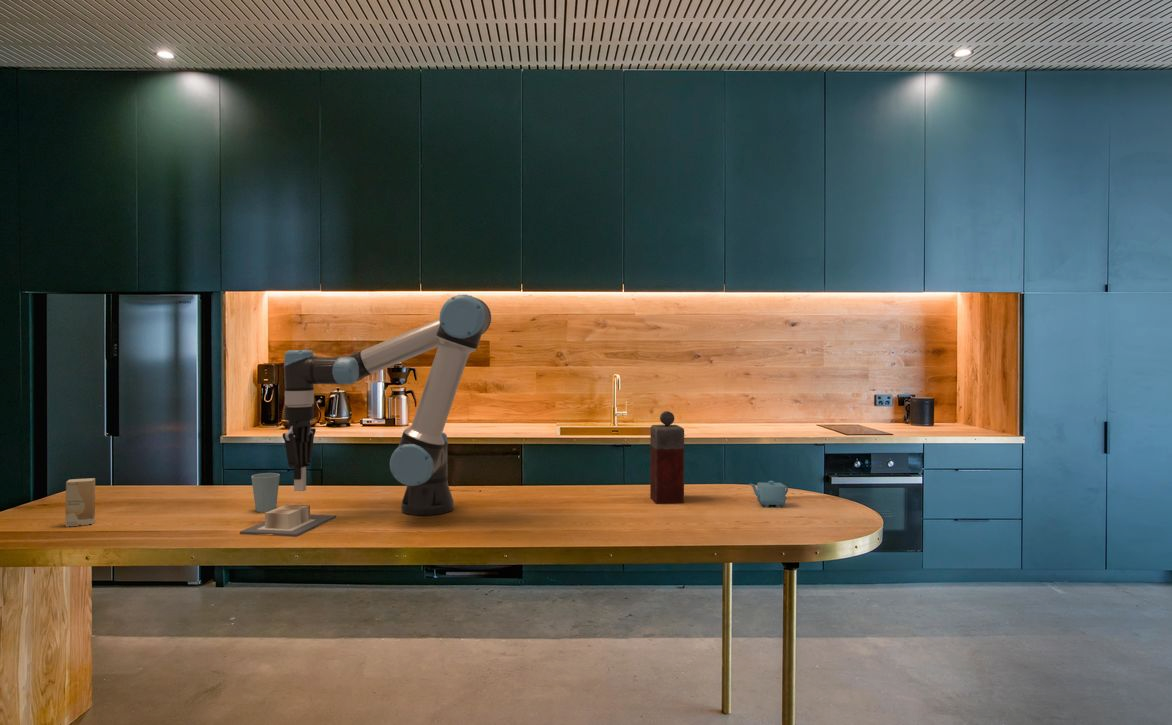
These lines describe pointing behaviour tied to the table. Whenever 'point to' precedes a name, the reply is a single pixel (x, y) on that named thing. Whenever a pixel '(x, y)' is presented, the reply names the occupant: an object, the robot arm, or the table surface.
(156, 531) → the table surface
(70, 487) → the skincare box
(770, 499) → the teapot
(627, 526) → the table surface
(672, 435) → the pepper mill
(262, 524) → the mat
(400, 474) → the robot arm
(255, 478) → the cup
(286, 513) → the block
